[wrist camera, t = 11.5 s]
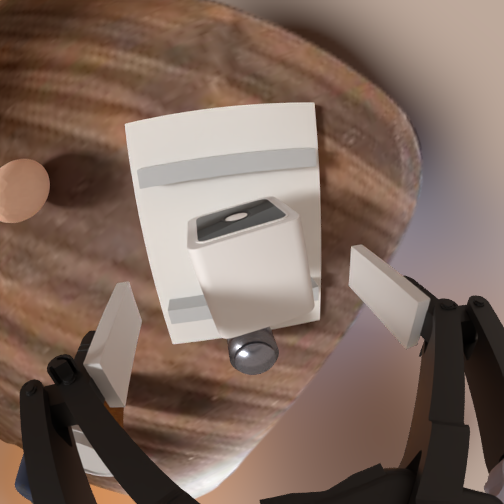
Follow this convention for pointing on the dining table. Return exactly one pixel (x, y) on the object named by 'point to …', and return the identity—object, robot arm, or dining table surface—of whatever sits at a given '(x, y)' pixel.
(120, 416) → the disposable coffee cup
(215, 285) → the white rounded plastic box
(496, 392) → the robot arm
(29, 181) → the egg
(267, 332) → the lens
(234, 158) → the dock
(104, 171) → the dining table surface
